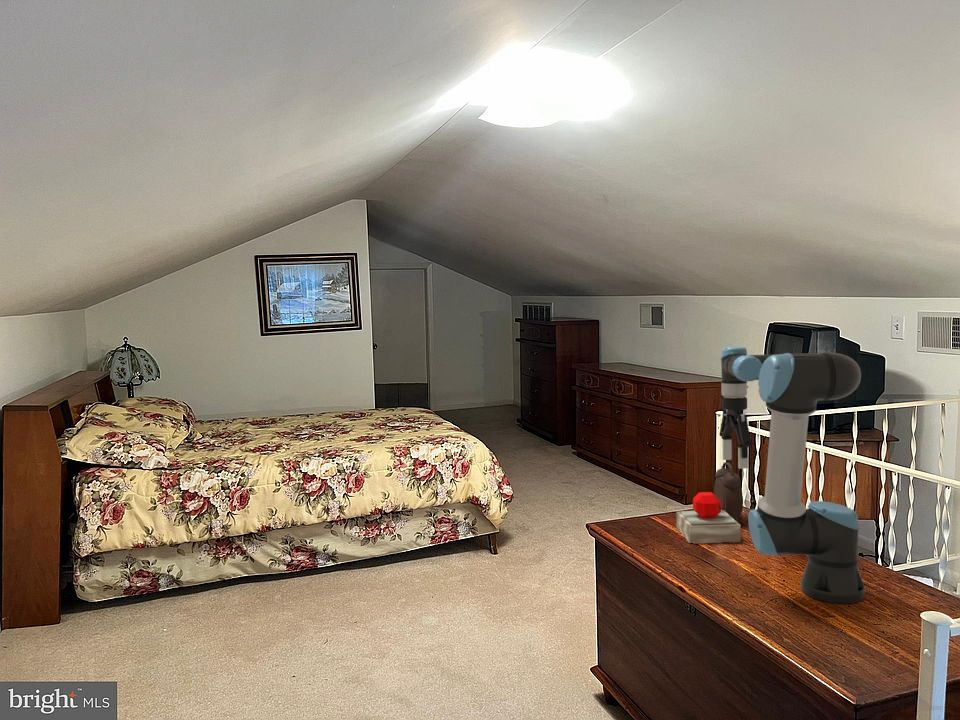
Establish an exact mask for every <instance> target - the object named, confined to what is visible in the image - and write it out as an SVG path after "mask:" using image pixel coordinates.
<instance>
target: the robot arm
mask: <svg viewBox="0 0 960 720" xmlns="http://www.w3.org/2000/svg"><path fill="white" fill-rule="evenodd" d="M720 355H721V357H720V360H721V365H720V366H721V382H720V383H721V396H723V397H722V398H721V408H722V419H721V423H720V429H719V436H720V437H721V440H722V441H721V442H722V443H721V444H722V445H721V446H722V449H721V450H722V452H721V453H722V454H721V455H722V460H723V461H729V460H730V461H732V458H733V455H732V454H733V453H732V452H733V450H732V449H733V447H732V446H733V445H732V440H733V436H732V434H733V431H735V434H736V439H737V442H738V445H737V448H738V449H737V450H738V451H737V452H738V454H737V457H738V458H737V459H738V464H737V466H738V469H739V470H740V469H741V470H743V469H749V447H752V439H751V435H750V429H749V425H748V415H747V414H745V413H744V414H743V410H744V411H745V410H747V409H748V398H747V394H748V389H749V385H748V382H754V381H758V383H757V384H758V394H759V397H760V398H761V400H762V401H763V402H765V407H766V408H767V409H768V410H769V411H770V412H771V414H770V415H771V416H770V424H769V425H770V426H769V427H770V428H769V437H768V438H769V440H768V449H767V451H768V452H767V461H766V462H767V463H766V464H767V465H766V474H765V487H764V488H765V490H764V496H763V497H760V498H759V499H758V501H757V509H756V508H752V509H750V510H749V512H748V515H747V520H748V524H747V525H748V529H749V534H750V537H751V541H752V543H753V545H754V548H755V549H756V550H757V552H758V553H759V554H762V556H763V555H764V556H775V557H777V556H800V555H802V556H803V555H806V556H808V560H807V563H806V566H805V568H804V571H803V574H802V577H801V580H800V589H801V591H802V592H803V593H804V594H805V595H806V596H808V597H810V598H813V599H816V600H819V601H822V602H827V603H831V604H833V603H834V604H854V603H859V602H861V601H862V600H864V599H865V596H866V594H865V593H866V592H865V591H866V588H865V587H866V586H865V585H864V581H863V579H862V576H861V572H860V569H859V564H858V563H859V562H858V560H859V559H858V557H859V530H860V526H859V516H858V514H857V512H856V511H855V510H854V509H852V508H850V507H848V506H845V505H842V504H840V503H834V502H830V501H822V500H821V501H820V500H816V501H815V500H814V501H809V504H808V505H807V507H808V508H807V507H806V505H805V504H804V503H803V502H802V501H801V498H802V491H803V490H802V489H803V488H802V487H803V480H804V479H803V478H804V477H803V476H804V469H805V467H804V466H805V459H806V458H805V457H806V450H807V449H806V447H807V438H808V437H807V436H808V427H809V417H810V416H811V415H813V414H814V413H815V412H816V410H817V406H818V405H817V403H818V402H820V401H834V400H835V401H836V400H840V399H842V398H843V399H844V398H846V397H847V396H849V395H851V394H852V393H853V392H855V390H857V389H858V387H859V386H860V383H861V379H862V371H861V367H860V366H859V364H858V363H857V361H855V359H853V358H851V357H850V356H848V355H845V354H842V353H837V352H815V353H814V352H813V353H811V352H810V353H806V352H805V353H801V352H800V353H790V352H785V353H779V354H748V351H747V347H743V346H728V347H727V346H726V347H723V348H722V349H721V354H720Z"/></svg>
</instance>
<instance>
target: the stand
mask: <svg viewBox="0 0 960 720" xmlns="http://www.w3.org/2000/svg"><path fill="white" fill-rule="evenodd" d="M675 513H676V529H677V530H678V531H679V533H682V534H681V535H682V536H683V537H684V539H686V541H687V542H688V543H689V544H690V543H693V544H718V543H719V544H723V543H722V542H729V543H741V535H742V534H741V532H742V531H741V527H742V526H741V524H740V523H739V521H738V522H737V521H736V519H735V518H732V517H731V516H730V515H729V514H727V513H726V512H725V511H724V510H721V512H720V513H719V514H718V515H717V516H716V517H715V518H709V519H703V518H701V517H700V516H699V515H698V514H697V513H696V512H695V511H694V510H680V511H676V512H675Z"/></svg>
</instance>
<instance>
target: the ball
mask: <svg viewBox="0 0 960 720" xmlns="http://www.w3.org/2000/svg"><path fill="white" fill-rule="evenodd" d="M692 511H695V512H696V513H697V514H698V515H699V516H700V517H701V518H703V519H709V518H715V517H716V516H717V515H718V514H719V513H720V512H721V501H720V500H719V499H718V498H717V497H716V496H715V495H714V493H713V492H712V491H705V492H704V491H703V492H700V491H699V492H698V493H697V494H696V495H694V497H693V498H692Z"/></svg>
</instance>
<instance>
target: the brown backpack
mask: <svg viewBox="0 0 960 720" xmlns="http://www.w3.org/2000/svg"><path fill="white" fill-rule="evenodd" d="M722 463H723V464H722V465H721V468H719V469H717V470H716V472H715V475H714V477H715V481H714V486H713V494H714V495H715V496H716V497H717V498H718V499H719V500H720V501H721V510H724V511H725V512H726V513H727V514H729V515H730V516H731V517H732V518H733V519H735V521H736V522H738V523H739V517H741V515H742V512H743V508H744V496H743V495H744V494H743V489H742V486H741V477H740V476H739V475H738V473H735V472H734V469H733V466H732V464H731V463H729V462H725V461H724V462H722ZM727 467H728V468H727Z"/></svg>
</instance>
